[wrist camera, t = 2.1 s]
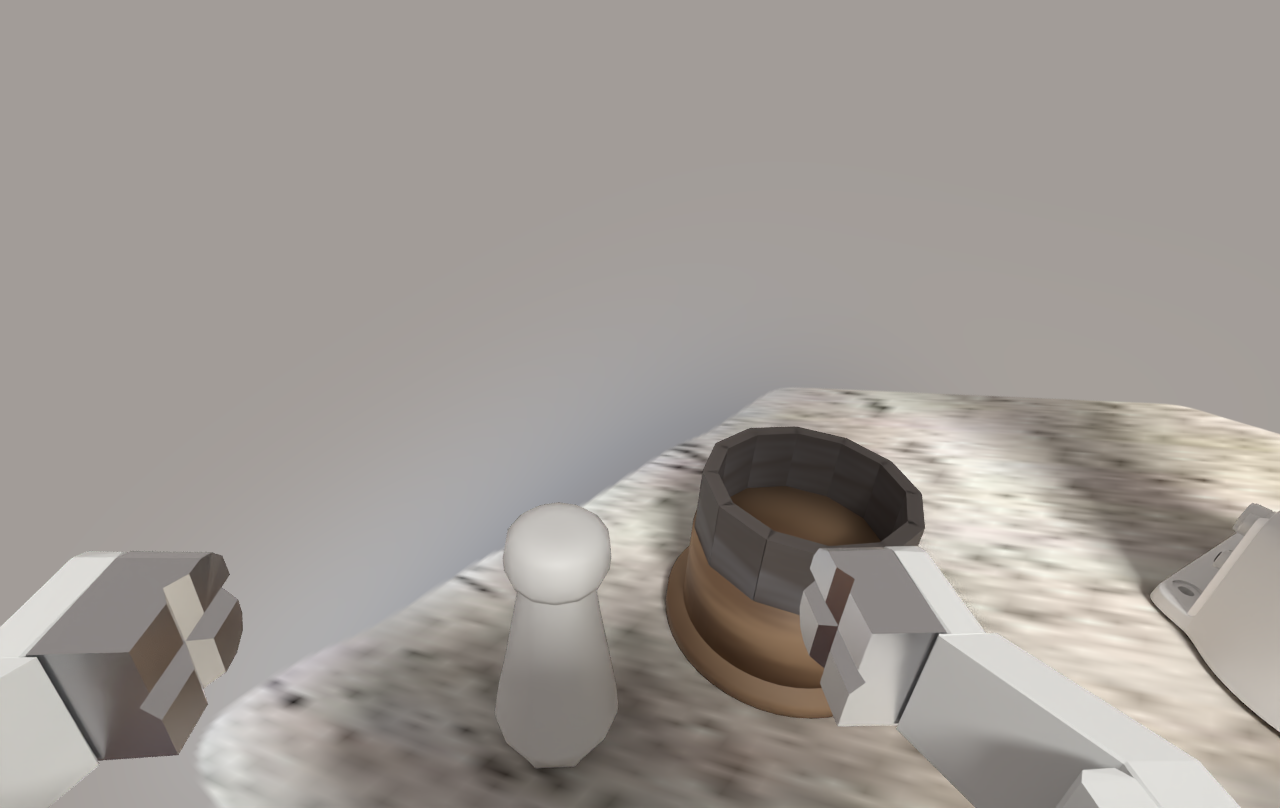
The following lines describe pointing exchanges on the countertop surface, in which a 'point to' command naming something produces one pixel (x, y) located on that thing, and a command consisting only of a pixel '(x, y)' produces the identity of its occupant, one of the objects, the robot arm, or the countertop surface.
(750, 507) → the brown pot
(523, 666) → the salt shaker
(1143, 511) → the countertop surface
